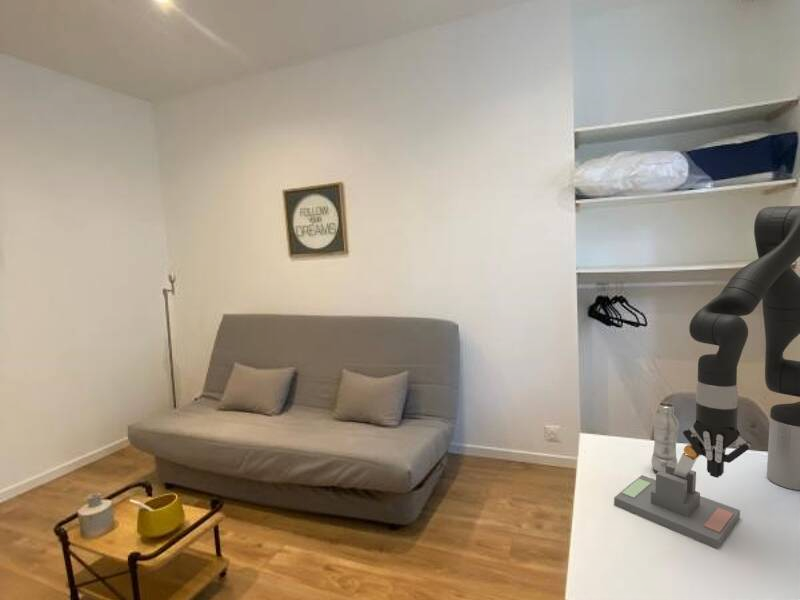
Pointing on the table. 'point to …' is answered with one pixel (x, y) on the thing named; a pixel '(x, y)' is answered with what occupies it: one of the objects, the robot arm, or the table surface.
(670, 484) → the switch box
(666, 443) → the plastic bottle
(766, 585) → the table surface
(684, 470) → the lever
